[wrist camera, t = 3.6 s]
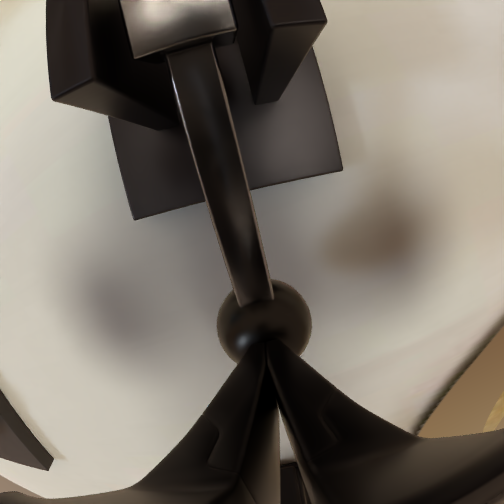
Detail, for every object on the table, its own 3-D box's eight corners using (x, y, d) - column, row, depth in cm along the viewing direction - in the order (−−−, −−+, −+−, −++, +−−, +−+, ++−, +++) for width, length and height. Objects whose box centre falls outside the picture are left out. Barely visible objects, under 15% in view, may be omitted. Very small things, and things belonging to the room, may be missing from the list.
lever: (305, 315, 12) (324, 377, 10) (229, 332, 13) (232, 396, 10) (231, -38, 6) (236, -87, 3) (123, -7, 6) (79, -39, 3)
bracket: (335, 169, 13) (462, 191, 5) (142, 216, 14) (23, 294, 5) (277, -33, 10) (304, -155, 2) (101, 14, 10) (4, -68, 2)
